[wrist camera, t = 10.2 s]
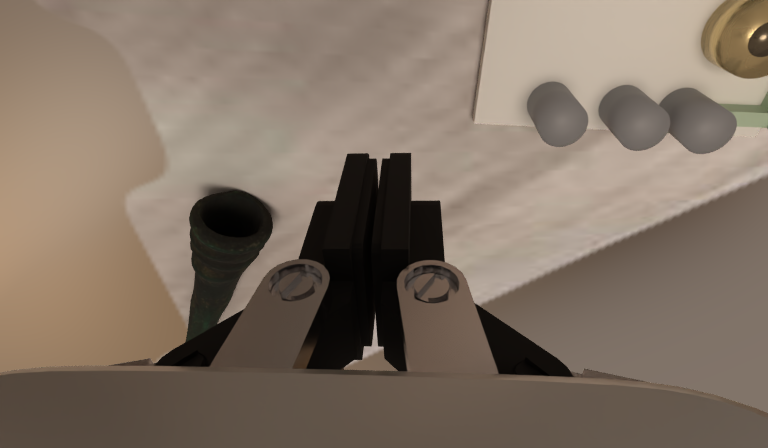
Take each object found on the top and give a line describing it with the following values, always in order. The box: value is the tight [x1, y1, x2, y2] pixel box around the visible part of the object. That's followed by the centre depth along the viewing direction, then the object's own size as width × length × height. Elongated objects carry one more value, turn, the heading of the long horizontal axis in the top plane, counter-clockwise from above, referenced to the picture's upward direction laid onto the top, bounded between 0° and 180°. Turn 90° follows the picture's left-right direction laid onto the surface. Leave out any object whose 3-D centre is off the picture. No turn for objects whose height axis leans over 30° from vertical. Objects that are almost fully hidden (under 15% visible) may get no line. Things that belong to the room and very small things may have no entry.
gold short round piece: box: [701, 0, 768, 79], centre depth 27 cm, size 5×5×3 cm
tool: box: [185, 191, 273, 343], centre depth 44 cm, size 28×6×7 cm, turn 151°
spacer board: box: [473, 0, 768, 154], centre depth 27 cm, size 14×20×5 cm
